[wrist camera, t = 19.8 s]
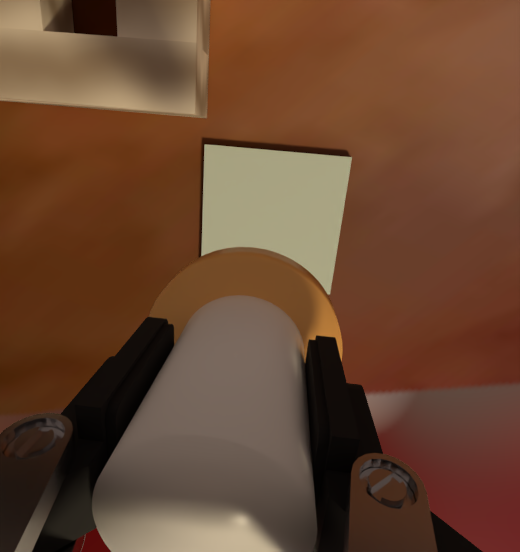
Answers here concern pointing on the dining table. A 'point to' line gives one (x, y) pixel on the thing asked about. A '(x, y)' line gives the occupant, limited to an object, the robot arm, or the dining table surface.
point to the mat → (275, 204)
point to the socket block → (108, 57)
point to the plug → (223, 415)
